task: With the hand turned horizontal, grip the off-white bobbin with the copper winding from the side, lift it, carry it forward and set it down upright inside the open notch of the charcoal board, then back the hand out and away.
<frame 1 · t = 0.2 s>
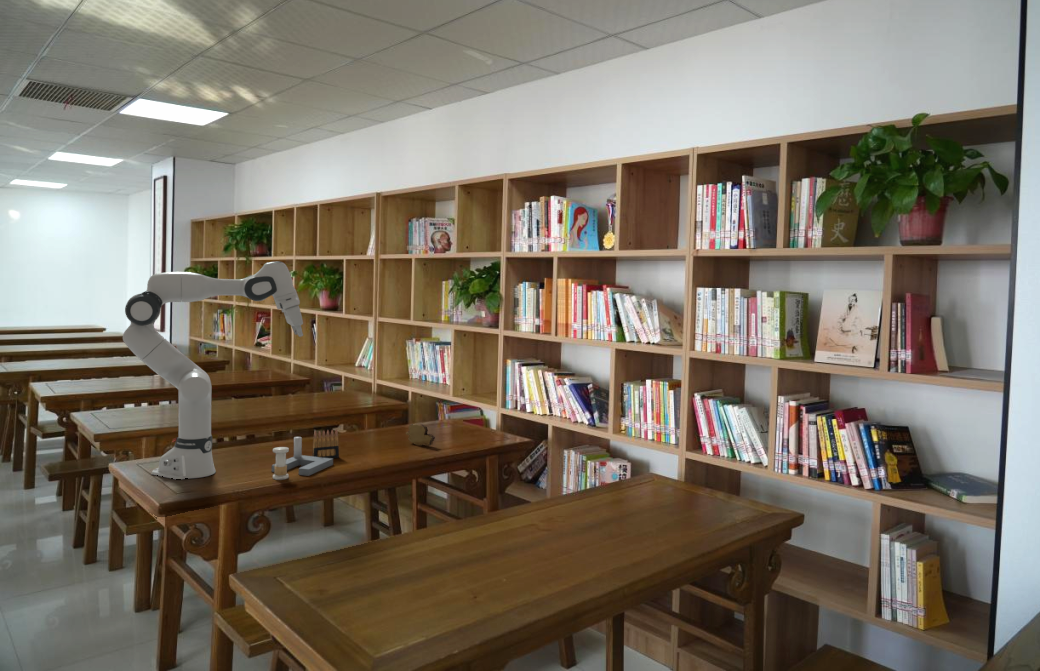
hand: (299, 335, 279), 52 cm above the table, tool tilted 20°, fingers open, 8 cm apart
ammunition clip: (325, 458, 297), on the table
wooden carving: (419, 445, 327), on the table
notched board: (302, 468, 281), on the table
bobbin: (280, 477, 266), on the table
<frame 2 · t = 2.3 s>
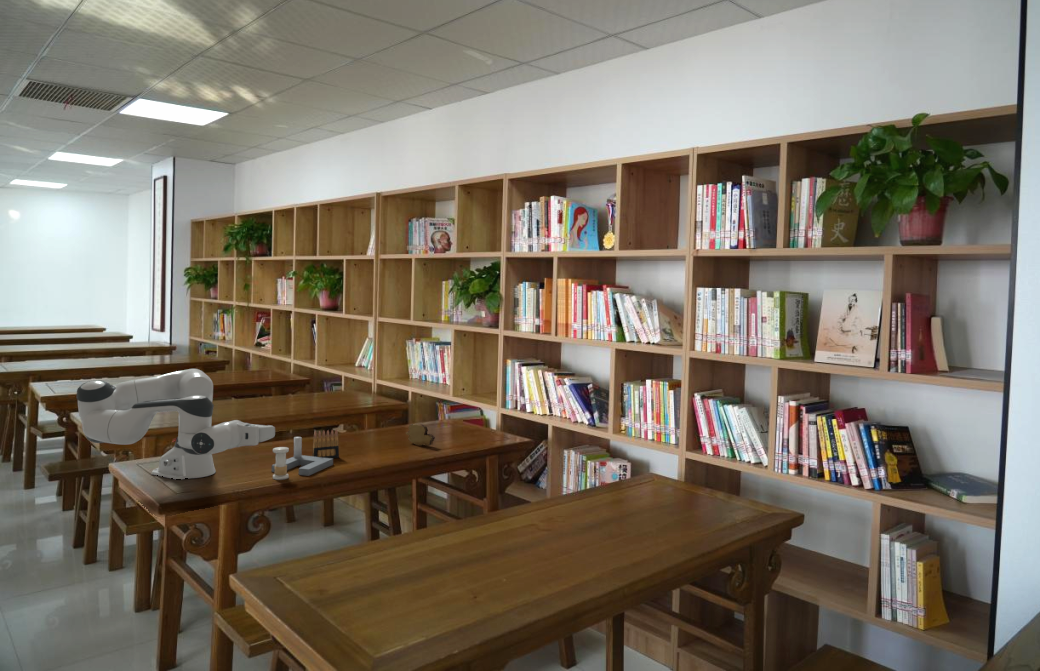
hand: (259, 426, 252), 22 cm above the table, tool horizontal, fingers open, 8 cm apart
nothing on the table moved.
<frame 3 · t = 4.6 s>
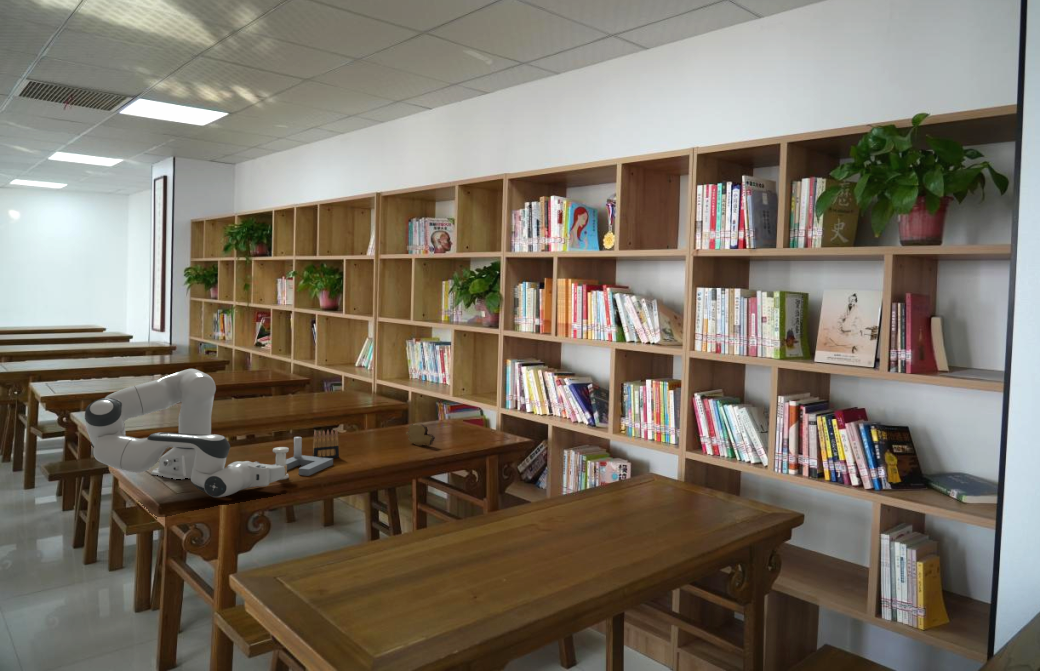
hand: (269, 465, 258), 7 cm above the table, tool horizontal, fingers open, 8 cm apart
nothing on the table moved.
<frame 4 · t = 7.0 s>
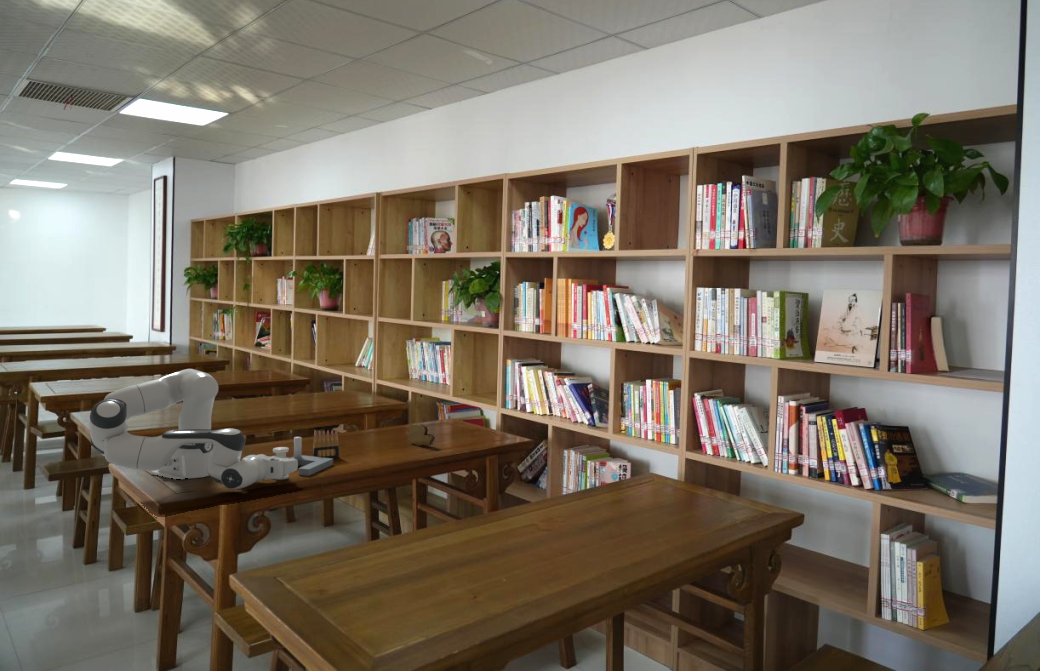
hand: (282, 458, 267), 7 cm above the table, tool horizontal, fingers closed on bobbin, 4 cm apart
bobbin: (280, 477, 266), on the table, touching gripper
everything else where it was.
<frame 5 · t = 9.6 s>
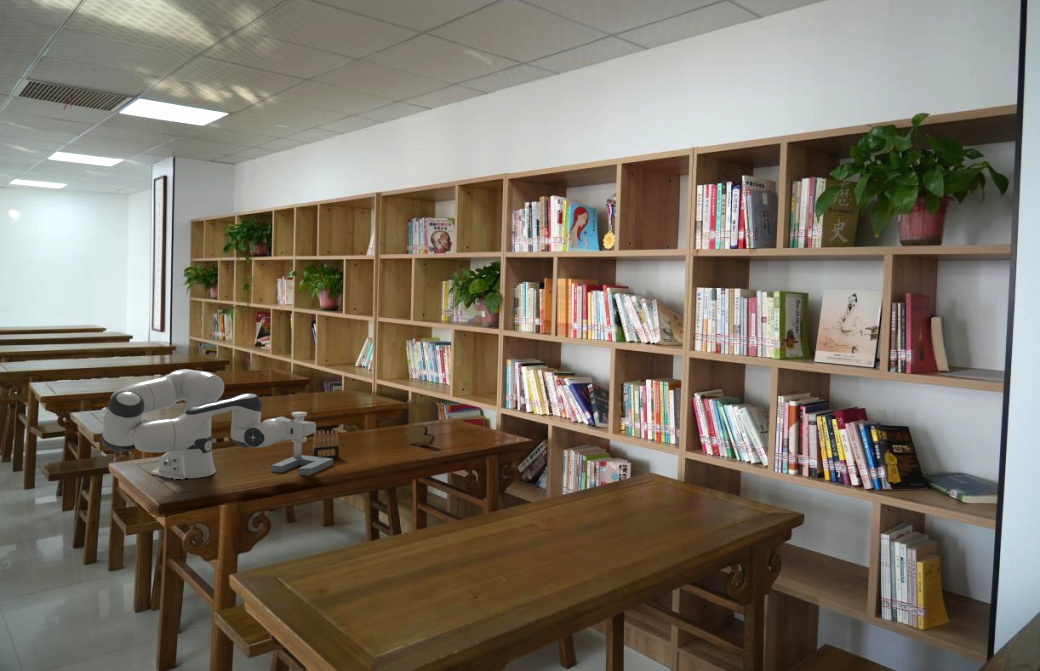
hand: (300, 422, 277), 19 cm above the table, tool horizontal, fingers closed on bobbin, 4 cm apart
bobbin: (299, 440, 277), point 11 cm above the table, touching gripper
everything else where it was.
when the fingers open (8 cm above the table, at t = 12.1 s): bobbin drops 1 cm, resting in notched board.
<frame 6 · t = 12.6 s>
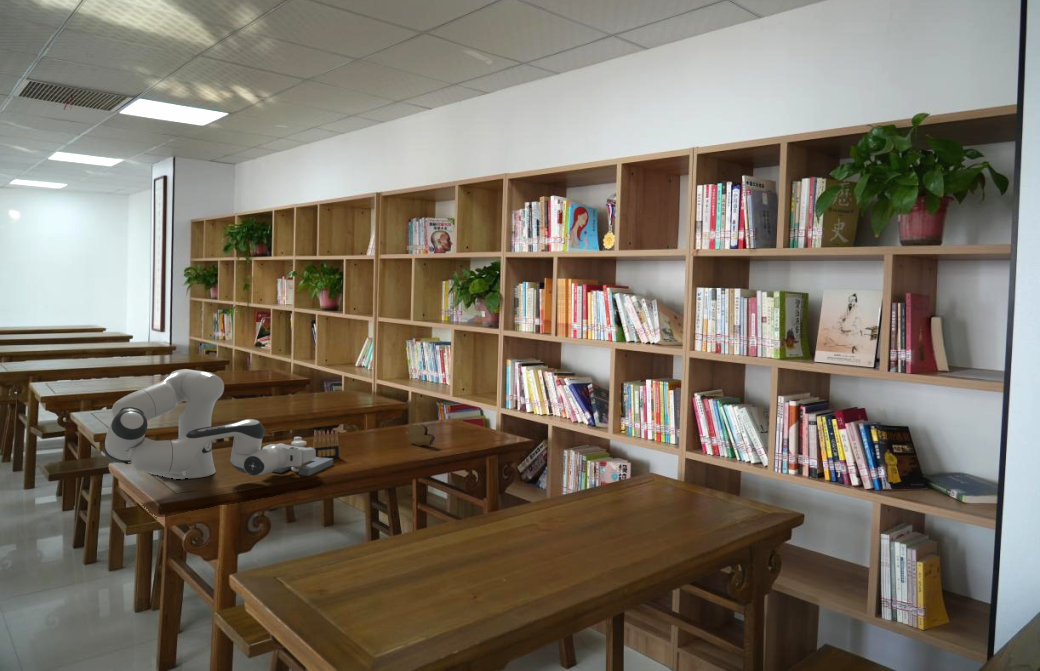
hand: (300, 448, 278), 8 cm above the table, tool horizontal, fingers open, 8 cm apart
bobbin: (298, 470, 278), resting in notched board
everything else where it was.
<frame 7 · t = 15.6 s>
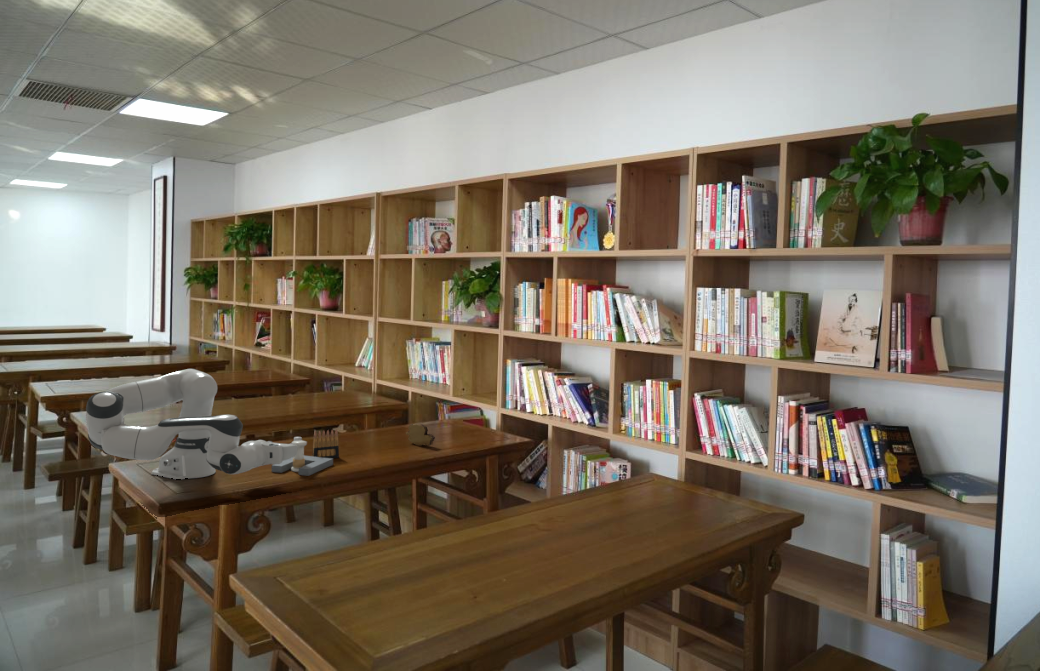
hand: (281, 444, 264), 13 cm above the table, tool horizontal, fingers open, 8 cm apart
nothing on the table moved.
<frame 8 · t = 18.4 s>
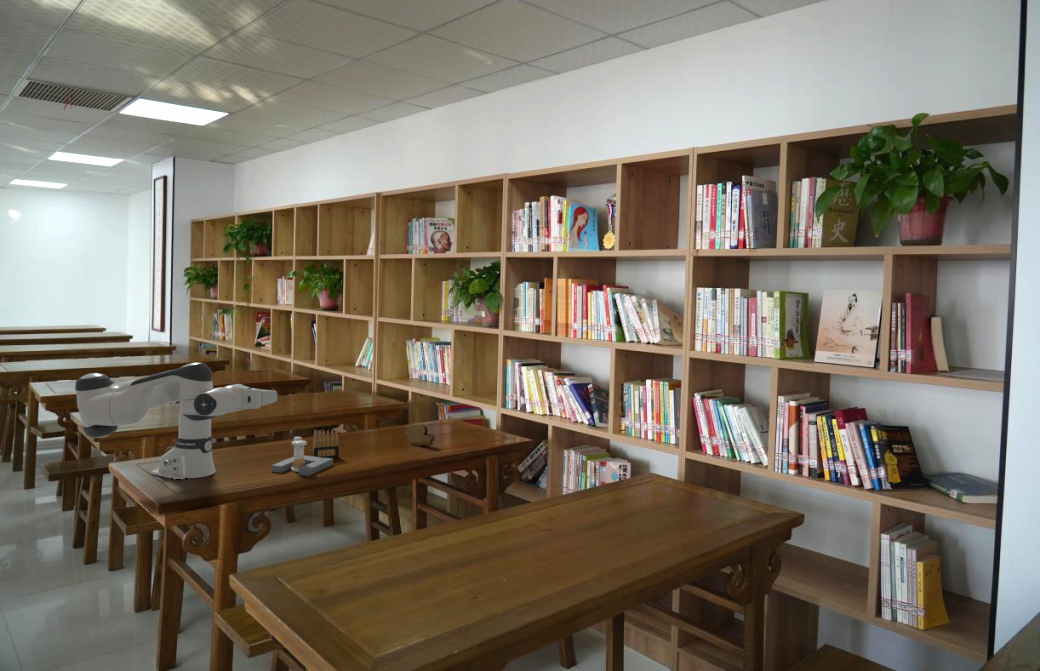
hand: (261, 391, 252), 34 cm above the table, tool horizontal, fingers open, 8 cm apart
nothing on the table moved.
at the end: bobbin 0.4 cm from the target spot on the notched board, point 0.0 cm above the notched board's base; bobbin tilted 1°; the gripper is holding nothing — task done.
